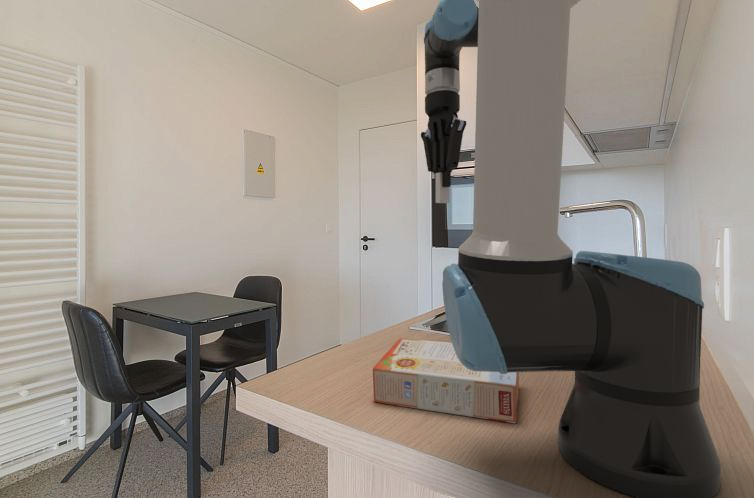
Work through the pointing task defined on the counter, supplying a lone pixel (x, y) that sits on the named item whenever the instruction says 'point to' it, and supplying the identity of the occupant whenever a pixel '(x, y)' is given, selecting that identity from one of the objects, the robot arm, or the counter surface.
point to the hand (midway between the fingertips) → (442, 202)
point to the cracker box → (443, 382)
